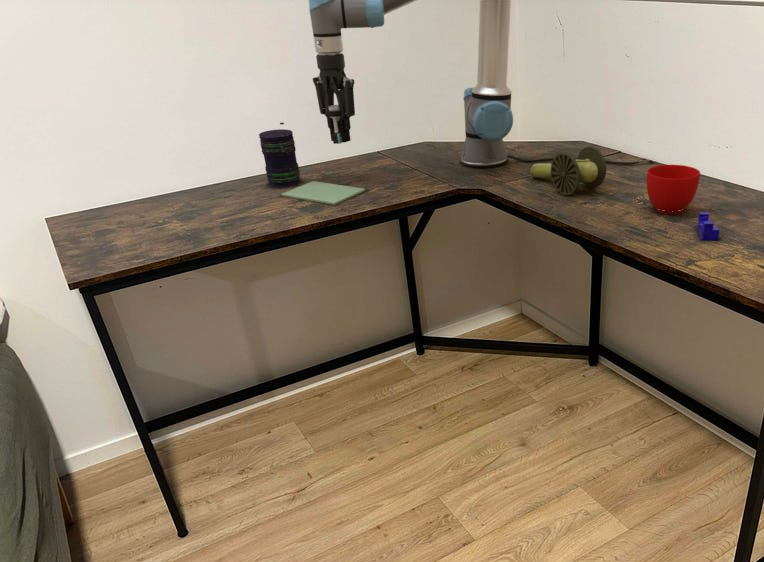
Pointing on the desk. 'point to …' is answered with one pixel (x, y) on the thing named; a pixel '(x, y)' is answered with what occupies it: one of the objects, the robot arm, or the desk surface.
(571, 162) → the cannon
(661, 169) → the ceramic cup
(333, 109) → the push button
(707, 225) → the blue stepped block
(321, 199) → the desk mat
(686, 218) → the desk surface
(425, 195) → the desk surface
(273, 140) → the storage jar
